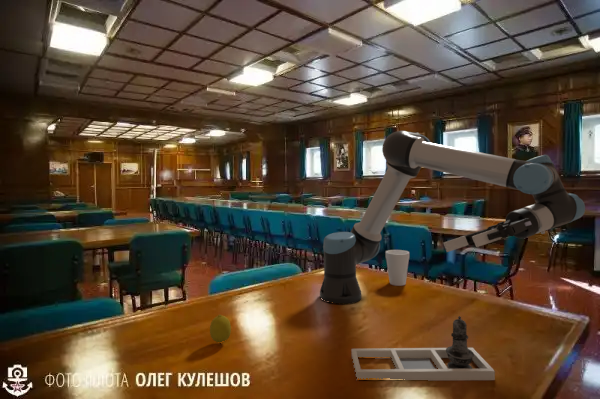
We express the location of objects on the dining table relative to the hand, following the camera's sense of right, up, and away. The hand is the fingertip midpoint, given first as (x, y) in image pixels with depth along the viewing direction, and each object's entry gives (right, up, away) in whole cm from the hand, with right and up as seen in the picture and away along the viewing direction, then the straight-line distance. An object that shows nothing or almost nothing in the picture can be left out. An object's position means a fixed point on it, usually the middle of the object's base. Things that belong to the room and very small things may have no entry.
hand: (458, 244), depth 90 cm
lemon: (-62, -28, +5) cm, 68 cm away
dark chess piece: (-4, -27, -10) cm, 29 cm away
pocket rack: (-14, -27, -10) cm, 32 cm away
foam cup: (-1, -23, +54) cm, 59 cm away
